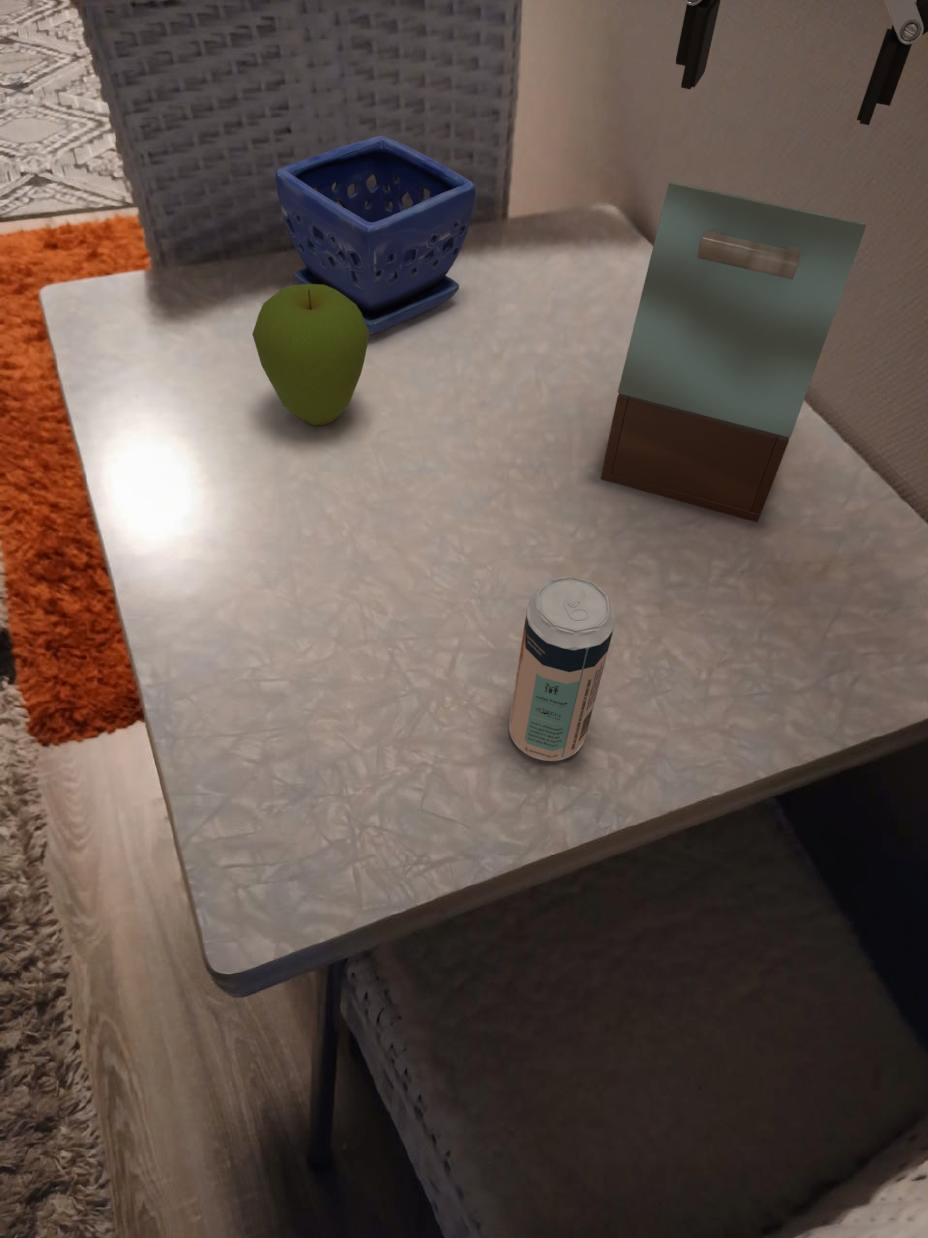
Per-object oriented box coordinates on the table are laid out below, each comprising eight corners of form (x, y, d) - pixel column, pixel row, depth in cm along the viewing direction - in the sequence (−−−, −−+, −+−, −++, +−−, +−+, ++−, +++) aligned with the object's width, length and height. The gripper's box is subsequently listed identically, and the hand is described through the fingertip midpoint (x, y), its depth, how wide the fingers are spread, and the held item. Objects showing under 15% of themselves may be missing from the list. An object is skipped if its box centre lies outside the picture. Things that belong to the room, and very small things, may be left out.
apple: (243, 427, 79) (225, 298, 71) (302, 376, 84) (292, 250, 76) (334, 463, 77) (326, 334, 68) (389, 408, 82) (388, 282, 73)
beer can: (567, 695, 63) (596, 563, 54) (596, 755, 60) (633, 626, 51) (497, 712, 61) (515, 580, 53) (523, 773, 58) (548, 645, 50)
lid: (670, 180, 64) (656, 191, 59) (866, 222, 61) (867, 237, 57) (619, 389, 71) (603, 414, 67) (790, 434, 69) (786, 462, 65)
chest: (640, 387, 86) (658, 307, 80) (782, 423, 84) (811, 344, 78) (600, 478, 77) (617, 396, 72) (757, 522, 75) (788, 441, 69)
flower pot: (475, 305, 94) (484, 181, 85) (370, 355, 87) (368, 226, 78) (383, 251, 99) (382, 130, 91) (278, 294, 93) (267, 168, 84)
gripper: (1108, -317, 42) (941, 105, 55) (713, -357, 45) (643, 48, 58) (1118, -303, 37) (933, 156, 50) (676, -349, 41) (608, 90, 53)
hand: (777, 97), depth 54 cm, fingers open, 9 cm apart
